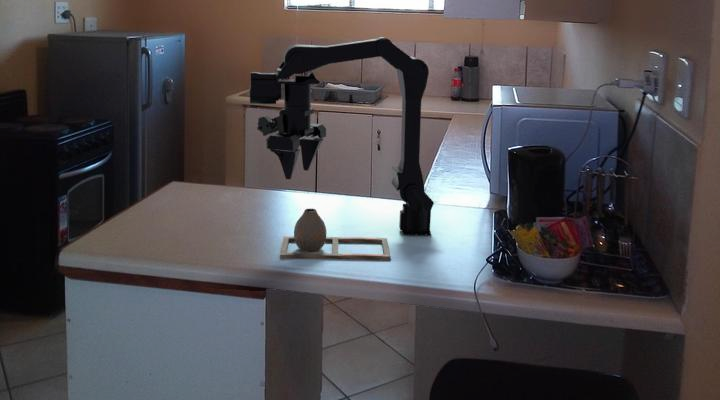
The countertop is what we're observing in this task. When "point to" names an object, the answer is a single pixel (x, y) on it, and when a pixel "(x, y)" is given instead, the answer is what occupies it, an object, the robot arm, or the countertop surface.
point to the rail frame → (335, 249)
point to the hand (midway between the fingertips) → (297, 174)
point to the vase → (310, 231)
